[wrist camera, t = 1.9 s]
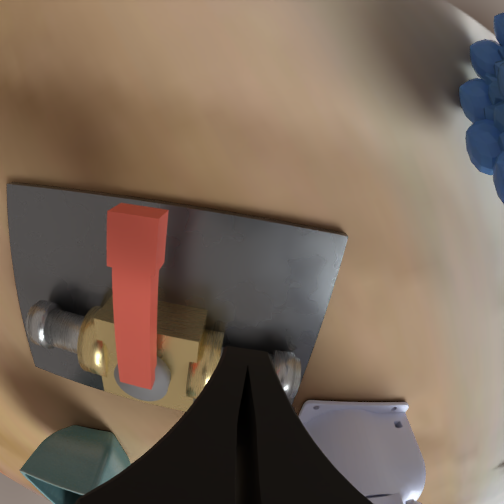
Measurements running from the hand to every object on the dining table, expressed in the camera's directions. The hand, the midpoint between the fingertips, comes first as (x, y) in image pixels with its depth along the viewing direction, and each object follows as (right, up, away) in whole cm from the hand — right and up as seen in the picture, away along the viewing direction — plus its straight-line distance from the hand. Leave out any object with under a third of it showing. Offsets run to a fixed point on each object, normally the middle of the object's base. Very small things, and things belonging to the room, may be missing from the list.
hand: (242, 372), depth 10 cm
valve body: (-7, -1, +10) cm, 12 cm away
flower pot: (-16, -16, +17) cm, 28 cm away
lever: (-5, +1, +6) cm, 8 cm away
